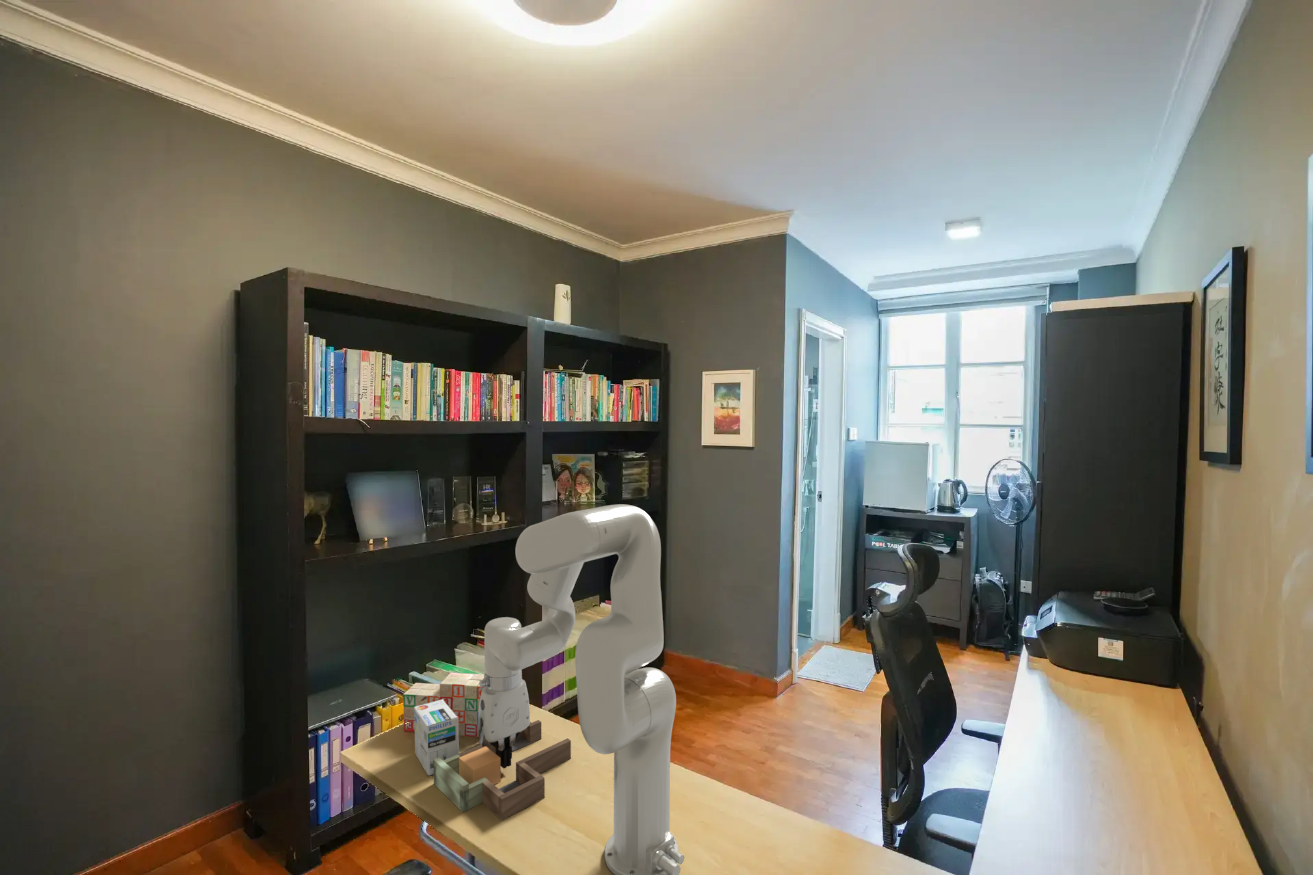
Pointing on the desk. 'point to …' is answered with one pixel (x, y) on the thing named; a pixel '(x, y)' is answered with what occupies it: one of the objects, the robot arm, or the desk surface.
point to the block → (480, 766)
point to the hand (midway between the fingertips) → (503, 764)
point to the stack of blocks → (448, 700)
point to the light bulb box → (435, 733)
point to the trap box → (513, 794)
